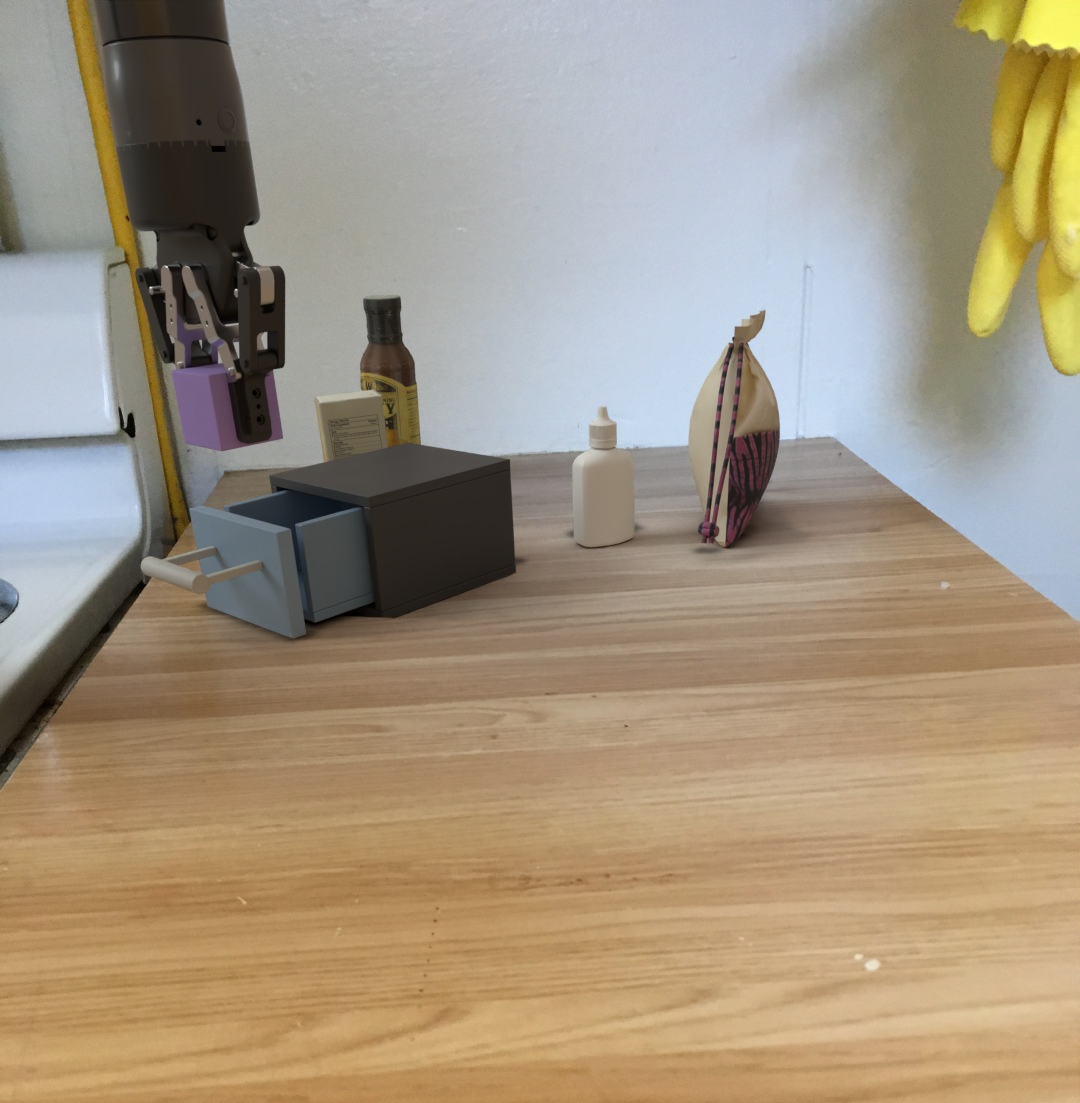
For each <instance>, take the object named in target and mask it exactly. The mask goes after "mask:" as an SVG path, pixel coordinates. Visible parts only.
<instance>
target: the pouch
mask: <svg viewBox="0 0 1080 1103" xmlns="http://www.w3.org/2000/svg"><path fill="white" fill-rule="evenodd" d="M766 313H767V312H766V309H763V310H759V313H757V314H750V316H749V318H741V324H740V326H739V325H736V326H735V325H734V333H733V335H734V336H732V337H731V341H732V342H730V341H729V342H728V343H727V344H726V346H725V347H724V348H723V350H722V352H721V354H720V356H719V358H718V359H717V361H716V362H715V363H714V365H713V366H712V368H711V370H710V371H709V373H708V374H707V376H706V378H705V379H704V381H703V383H702V385H701V387H700V389H699V391H698V393H697V396H696V398H695V401H694V403H693V407H692V410H691V414H690V419H689V427H688V454H689V455H688V456H689V462H690V463H689V465H690V469H691V473H692V474H691V475H692V479H693V482H694V484H695V485H694V486H695V489H696V490H695V491H696V493H697V496H698V500H699V503H700V506H701V509H702V512H703V514H704V521H703V522H701V523H700V524H699V525H698V528H697V532H698V533H699V535H701V536H702V537H701V544H706V545H707V544H712V545H714V544H715V542H717V544H718V545H719V546H721V547H723V548H726V547H731V546H733V544H735V543H736V542H737V541H738V540H739V539H740V537H741V535H742V534H743V533H744V532H745V529H746V528H747V526H748V524H749V522H750V521H751V519H752V517H753V515H754V513H755V512H756V510H757V508H758V506H759V504H760V502H761V501H762V498H763V496H764V494H765V492H766V489H767V488H768V485H769V483H770V480H771V478H772V476H773V472H774V469H775V466H776V463H777V458H778V454H779V448H780V440H781V422H780V420H781V419H780V411H779V406H778V404H779V403H778V400H777V396H776V393H775V391H774V388H773V386H772V384H771V381H770V379H769V377H768V376H767V374H766V371H765V370H764V368H763V367H762V365H761V364H760V362H759V361H758V359H757V357H756V356H755V355H754V353H753V351H752V349H751V348H750V345H749V343H750V342H751V341H752V340H753V339H755V338H756V337H757V336H758V334H759V333H760V332H761V331H762V330H763V326H764V323H765V320H766Z"/></svg>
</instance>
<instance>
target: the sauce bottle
mask: <svg viewBox="0 0 1080 1103" xmlns="http://www.w3.org/2000/svg"><path fill="white" fill-rule="evenodd" d="M362 305H363V311H364V313H365V317H366V318H365V320H366V330H367V335H366V338H367V342H368V344H367V346H366V349H364V352H363V353H362V356H361V359H360V362H359V371H360V372H359V382H360V383H359V384H360V391H368V390H375V391H376V392H378V393H379V394H380V395H381V396H382V403H383V411H384V419H385V427H386V435H387V442H388V447H392V446H396V445H400V444H405V443H413V444H419V445H422V438H421V437H422V436H421V424H420V410H419V396H418V383H417V380H416V362H415V360H414V358H413V355H412V353H411V352H410V350H409V349H408V348H407V346H406V345H405V343H404V340H403V337H404V333H403V332H402V319H401V312H402V298H401V296H400V295H399V294H375V295H374V294H373V295H366V296H364V297H363V298H362Z"/></svg>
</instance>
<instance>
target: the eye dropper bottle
mask: <svg viewBox="0 0 1080 1103" xmlns="http://www.w3.org/2000/svg"><path fill="white" fill-rule="evenodd" d="M597 407H598V408H597V411H596V412H597V413H596V417H595V419H594V420H592V421H590V422H589V423H588V446H589V449H587V450H585V451H583V452H582V453H580V454H579V455H578V456H576V458H575V459H574V460H573V462H572V466H571V471H572V472H571V475H572V476H571V481H572V482H571V483H572V485H571V486H572V516H573V517H572V520H573V521H572V522H573V523H572V524H573V526H572V527H573V540H574V542H575V543H576V544H578V545H580V546H583V547H585V548H599V547H600V548H602V547H608V546H613V545H618V544H621V543H624V542H627V541H629V540H631V539H633V538H634V536H635V533H636V532H635V531H636V530H635V522H636V521H635V518H636V517H635V515H636V514H635V512H636V511H635V510H636V508H635V460H634V457H633V455H632V453H630V452H629V451H627V450H625V449H623V448H619V447H616V446H618V445H617V444H618V438H617V437H618V434H617V433H618V432H617V428H618V427H617V425H618V424H617V422H616V421H614V420H613V419H611V418H610V417H609V412H608V407H607V406H606V405H599V406H597Z"/></svg>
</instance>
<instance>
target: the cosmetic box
mask: <svg viewBox="0 0 1080 1103" xmlns="http://www.w3.org/2000/svg"><path fill="white" fill-rule="evenodd" d="M313 400H314V406H315V413H316V418H317V425H318V426H317V427H318V432H319V439H320V444H321V452H322V458H323V463H324V462H328V461H332V460H336V459H341V458H345V457H349V456H353V455H358V454H362V453H366V452H371V451H375V450H379V449H383V448H388V442H387V435H386V427H385V419H384V411H383V403H382V396H381V395H380V394H379V393H378V392H376V391H375V390H368V391H361V390H359V391H353V392H344V393H343V392H342V393H335V394H327V395H316V396H313Z"/></svg>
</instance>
